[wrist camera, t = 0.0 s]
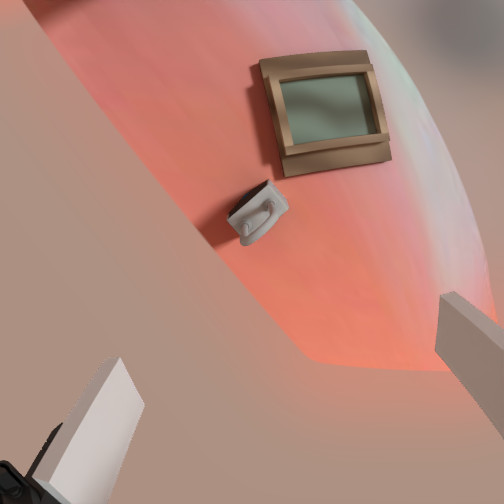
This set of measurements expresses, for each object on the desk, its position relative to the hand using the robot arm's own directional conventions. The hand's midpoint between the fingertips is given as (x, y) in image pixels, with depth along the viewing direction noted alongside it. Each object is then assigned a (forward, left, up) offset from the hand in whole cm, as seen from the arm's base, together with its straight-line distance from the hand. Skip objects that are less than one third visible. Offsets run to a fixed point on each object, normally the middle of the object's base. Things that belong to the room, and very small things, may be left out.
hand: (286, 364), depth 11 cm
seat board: (-13, +11, -28) cm, 33 cm away
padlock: (-2, 0, -28) cm, 28 cm away
